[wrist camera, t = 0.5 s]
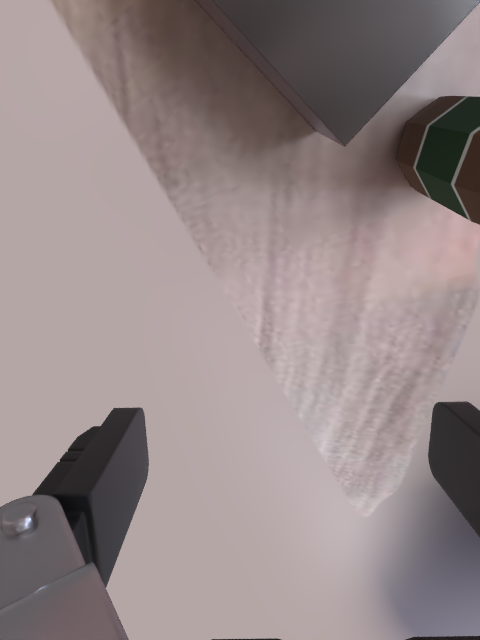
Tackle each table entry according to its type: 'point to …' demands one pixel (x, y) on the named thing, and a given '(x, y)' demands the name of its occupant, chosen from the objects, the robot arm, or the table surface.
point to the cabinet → (338, 50)
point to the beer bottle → (445, 154)
